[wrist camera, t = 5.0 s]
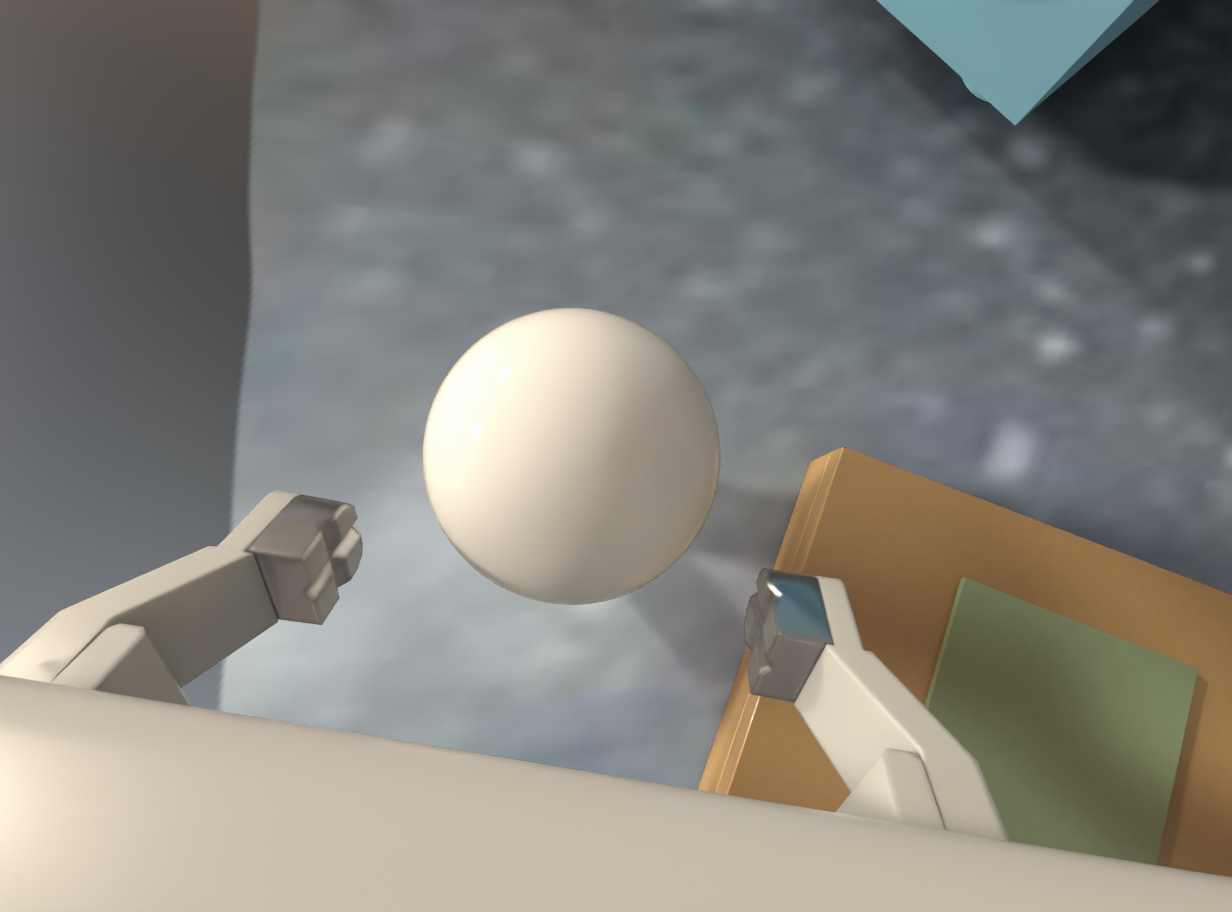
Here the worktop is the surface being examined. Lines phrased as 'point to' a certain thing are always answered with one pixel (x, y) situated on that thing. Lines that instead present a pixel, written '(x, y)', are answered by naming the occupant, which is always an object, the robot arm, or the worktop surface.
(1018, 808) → the shelf
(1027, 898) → the robot arm
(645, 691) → the worktop surface
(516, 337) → the lightbulb
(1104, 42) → the teakettle
